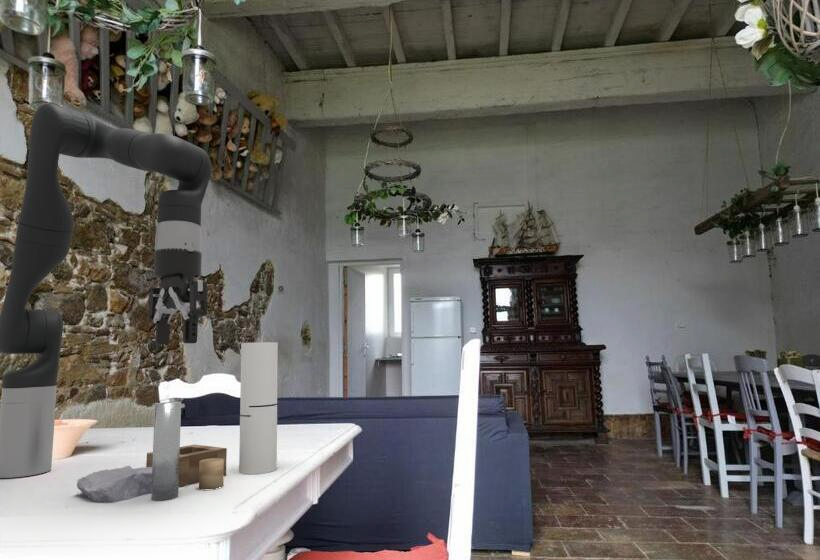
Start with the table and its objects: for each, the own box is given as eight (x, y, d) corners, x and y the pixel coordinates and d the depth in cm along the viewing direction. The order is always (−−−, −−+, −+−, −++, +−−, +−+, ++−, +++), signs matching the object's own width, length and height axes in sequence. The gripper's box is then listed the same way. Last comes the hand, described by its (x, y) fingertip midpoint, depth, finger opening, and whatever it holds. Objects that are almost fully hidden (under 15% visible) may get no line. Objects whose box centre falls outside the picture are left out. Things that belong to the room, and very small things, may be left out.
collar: (145, 481, 97) (146, 453, 98) (193, 470, 106) (194, 444, 106) (178, 487, 92) (179, 457, 93) (226, 475, 100) (226, 448, 101)
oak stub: (193, 488, 91) (194, 461, 92) (213, 483, 94) (214, 457, 95) (208, 491, 89) (209, 463, 90) (228, 485, 92) (228, 459, 93)
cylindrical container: (271, 473, 100) (272, 342, 104) (233, 474, 101) (236, 343, 104) (280, 465, 108) (281, 342, 111) (246, 466, 108) (248, 343, 111)
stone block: (109, 517, 82) (166, 489, 91) (104, 487, 82) (161, 461, 91) (68, 510, 88) (125, 484, 97) (63, 482, 88) (121, 459, 97)
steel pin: (146, 498, 85) (149, 403, 87) (168, 492, 88) (172, 401, 90) (160, 502, 83) (163, 404, 85) (183, 495, 86) (186, 402, 88)
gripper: (136, 253, 93) (132, 345, 91) (181, 241, 85) (178, 342, 83) (176, 258, 99) (173, 345, 97) (221, 248, 91) (220, 342, 89)
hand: (175, 344), depth 90 cm, fingers open, 8 cm apart
